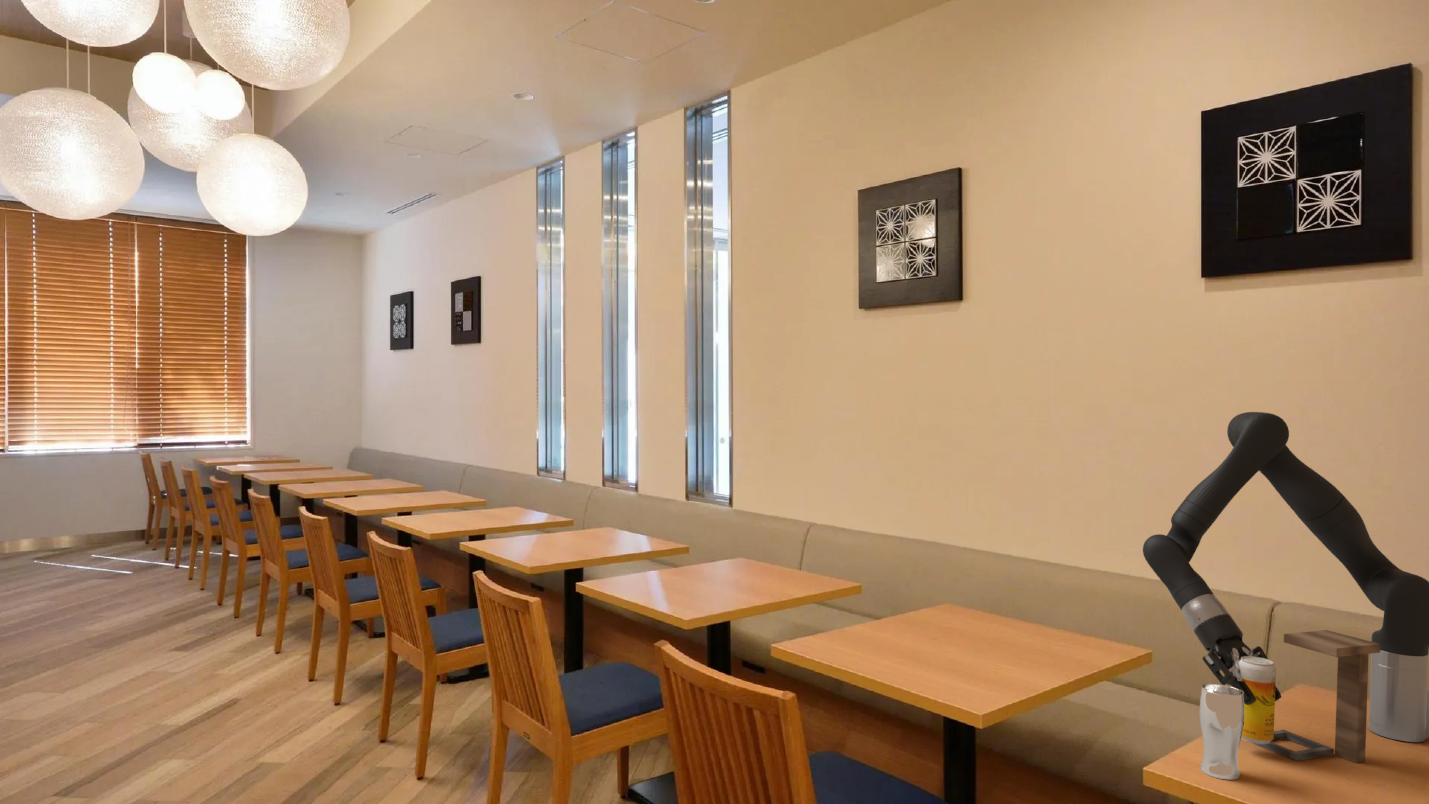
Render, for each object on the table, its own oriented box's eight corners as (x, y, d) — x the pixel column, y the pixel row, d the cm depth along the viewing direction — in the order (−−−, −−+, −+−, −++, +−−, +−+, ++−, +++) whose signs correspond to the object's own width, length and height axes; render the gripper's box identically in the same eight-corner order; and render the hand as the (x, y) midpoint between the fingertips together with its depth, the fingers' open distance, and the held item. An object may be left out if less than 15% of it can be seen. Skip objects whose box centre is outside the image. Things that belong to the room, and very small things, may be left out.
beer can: (1273, 747, 164) (1276, 667, 164) (1235, 740, 167) (1238, 661, 167) (1273, 737, 169) (1275, 659, 169) (1236, 730, 172) (1238, 653, 172)
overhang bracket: (1293, 734, 179) (1296, 622, 179) (1376, 765, 164) (1380, 643, 164) (1247, 741, 174) (1251, 626, 174) (1328, 774, 159) (1332, 648, 159)
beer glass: (1239, 784, 153) (1242, 698, 153) (1194, 773, 158) (1197, 689, 158) (1244, 772, 159) (1247, 688, 159) (1201, 761, 163) (1203, 680, 163)
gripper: (1196, 614, 172) (1250, 695, 161) (1249, 610, 178) (1305, 688, 167) (1172, 634, 177) (1223, 714, 166) (1225, 630, 183) (1278, 707, 172)
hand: (1264, 701), depth 167 cm, fingers closed on beer can, 6 cm apart
